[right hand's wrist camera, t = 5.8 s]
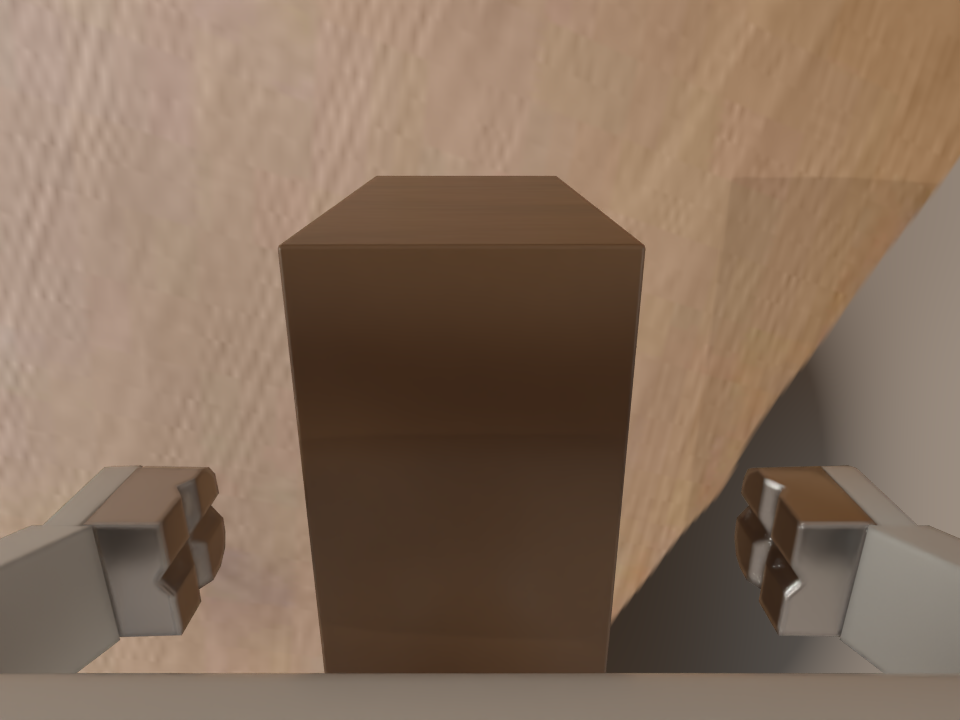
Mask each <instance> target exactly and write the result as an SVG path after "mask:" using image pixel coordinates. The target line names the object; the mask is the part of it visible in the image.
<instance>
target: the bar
mask: <svg viewBox="0 0 960 720" xmlns="http://www.w3.org/2000/svg"><path fill="white" fill-rule="evenodd" d="M278 255H279V264H280V273H281V282H282V291H283V300H284V309H285V318H286V327H287V336H288V345H289V354H290V363H291V372H292V382H293V391H294V400H295V409H296V418H297V427H298V436H299V445H300V454H301V463H302V472H303V481H304V490H305V499H306V508H307V518H308V527H309V536H310V545H311V554H312V563H313V572H314V581H315V590H316V599H317V608H318V617H319V626H320V635H321V644H322V653H323V663H324V672H325V673H606V667H607V656H608V645H609V634H610V624H611V613H612V602H613V591H614V581H615V570H616V559H617V548H618V538H619V527H620V516H621V506H622V495H623V484H624V473H625V463H626V452H627V441H628V430H629V420H630V409H631V398H632V387H633V377H634V366H635V355H636V344H637V334H638V323H639V312H640V301H641V291H642V280H643V269H644V258H645V246H644V245H643V244H642V243H641V242H640V241H638V240H637V239H636V238H634V237H633V236H632V235H631V234H629V233H628V232H627V231H626V230H624V229H623V228H622V227H620V226H619V225H618V224H617V223H615V222H614V221H613V220H612V219H610V218H609V217H608V216H606V215H605V214H604V213H603V212H601V211H600V210H599V209H598V208H596V207H595V206H594V205H592V204H591V203H590V202H589V201H587V200H586V199H585V198H584V197H582V196H581V195H580V194H578V193H577V192H576V191H575V190H573V189H572V188H571V187H570V186H568V185H567V184H566V183H564V182H563V181H562V180H561V179H559V178H558V177H557V176H376V177H374V178H373V179H372V180H370V181H369V182H367V183H366V184H365V185H363V186H362V187H360V188H359V189H358V190H356V191H355V192H353V193H352V194H351V195H349V196H348V197H346V198H345V199H344V200H342V201H341V202H339V203H338V204H337V205H335V206H334V207H332V208H331V209H330V210H328V211H327V212H325V213H324V214H323V215H321V216H320V217H318V218H317V219H316V220H314V221H313V222H311V223H310V224H309V225H307V226H306V227H304V228H303V229H302V230H300V231H299V232H297V233H296V234H295V235H293V236H292V237H290V238H289V239H288V240H286V241H285V242H283V243H282V244H281V245H279V247H278Z"/></svg>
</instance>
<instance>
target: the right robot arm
mask: <svg viewBox="0 0 960 720" xmlns="http://www.w3.org/2000/svg"><path fill="white" fill-rule="evenodd" d="M218 494H219V491H218V486H217V481H216V476H215V473H214V472H213V471H212V470H211V469H210V468H209V467H166V466H144V467H143V466H141V465H139V466H111V467H104V468H103V469H102V470H101V471H100V472H99V473H98V474H97V475H96V476H95V477H94V478H92V479H91V480H90V481H89V482H88V483H87V484H86V485H85V486H84V487H83V488H82V489H81V490H80V491H79V492H77V493H76V494H75V495H74V496H73V497H72V498H71V499H70V500H69V501H68V502H67V503H66V504H65V505H64V506H63V507H61V508H60V509H59V510H58V511H57V512H56V513H55V514H54V515H53V516H52V517H51V518H50V519H49V520H48V521H47V522H45V523H44V524H43V525H42V526H29V527H27V528H24V529H22V530H19V531H17V532H15V533H12V534H10V535H8V536H5V537H3V538H0V720H960V539H959V538H957V537H955V536H952V535H950V534H948V533H945V532H943V531H941V530H938V529H936V528H933V527H931V526H918V525H917V524H916V523H915V522H914V521H912V520H911V519H910V518H909V517H908V516H907V515H906V514H905V513H904V512H903V511H902V510H901V509H900V508H899V507H898V506H897V505H895V504H894V503H893V502H892V501H891V500H890V499H889V498H888V497H887V496H886V495H885V494H884V493H883V492H882V491H880V490H879V489H878V488H877V487H876V486H875V485H874V484H873V483H872V482H871V481H870V480H869V479H868V478H867V477H866V476H865V475H863V474H862V473H861V472H860V471H859V470H858V469H857V468H854V467H851V466H848V465H843V466H810V467H768V468H751V469H748V470H747V473H746V475H745V477H744V479H743V485H742V490H741V494H742V495H743V497H744V498H745V500H746V501H747V503H748V504H749V506H748V507H747V508H746V509H745V510H744V511H743V512H742V513H741V514H740V515H739V516H738V517H737V521H736V529H735V548H736V556H737V559H738V562H739V566H740V568H741V570H742V572H743V574H744V576H745V578H746V579H747V580H748V581H749V582H751V583H752V584H754V585H755V586H757V587H759V588H760V589H761V592H760V597H759V602H760V604H761V606H762V608H763V609H764V611H765V613H766V615H767V616H768V618H769V620H770V621H771V623H772V625H773V627H774V628H775V630H776V632H777V634H778V635H790V636H827V637H840V640H841V641H842V642H844V643H845V644H846V645H848V646H849V647H850V648H852V649H853V650H854V651H856V652H857V653H858V654H859V655H861V656H862V657H863V658H865V659H866V660H867V661H869V662H870V663H871V664H873V665H874V666H875V667H876V668H878V669H879V670H880V671H882V672H883V673H77V672H79V671H80V670H81V669H82V668H84V667H85V666H86V665H88V664H89V663H90V662H92V661H93V660H94V659H96V658H97V657H98V656H100V655H101V654H102V653H103V652H105V651H106V650H107V649H109V648H110V647H111V646H113V645H114V644H115V643H117V642H118V641H119V640H120V637H134V636H169V635H182V634H183V632H184V630H185V629H186V627H187V625H188V623H189V622H190V620H191V618H192V616H193V615H194V613H195V611H196V609H197V608H198V606H199V604H200V602H201V597H200V592H199V589H200V588H202V587H203V586H205V585H206V584H208V583H209V582H211V581H212V580H214V578H215V576H216V574H217V572H218V570H219V568H220V566H221V563H222V558H223V554H224V550H225V527H224V521H223V517H222V516H221V515H220V514H219V513H218V512H217V511H216V510H215V509H214V508H213V507H212V506H211V504H212V503H213V501H214V500H215V498H216V497H217V495H218Z"/></svg>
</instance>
